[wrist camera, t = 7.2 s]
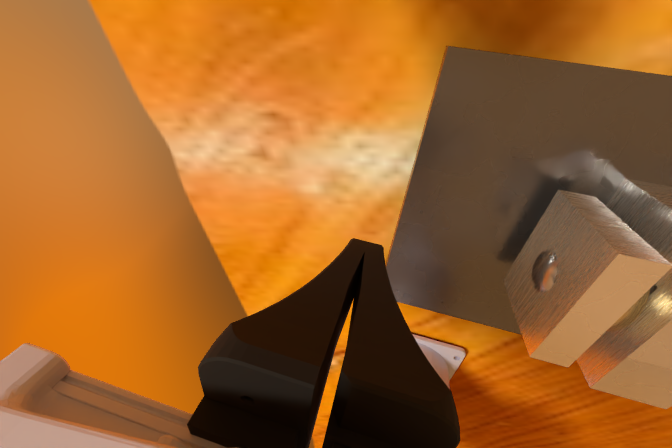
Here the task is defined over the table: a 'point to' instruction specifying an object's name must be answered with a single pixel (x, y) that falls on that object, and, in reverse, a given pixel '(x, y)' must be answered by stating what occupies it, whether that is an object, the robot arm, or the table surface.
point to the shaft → (579, 278)
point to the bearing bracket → (538, 194)
